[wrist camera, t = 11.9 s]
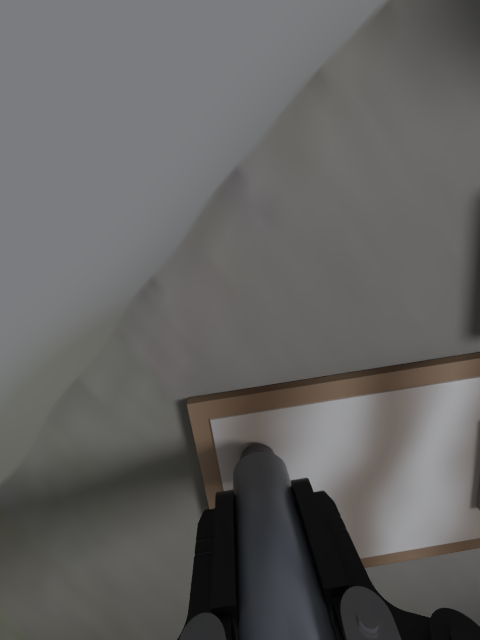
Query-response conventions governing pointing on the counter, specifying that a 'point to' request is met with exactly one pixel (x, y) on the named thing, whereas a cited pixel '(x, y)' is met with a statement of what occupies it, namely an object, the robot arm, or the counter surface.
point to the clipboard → (365, 450)
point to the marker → (274, 556)
